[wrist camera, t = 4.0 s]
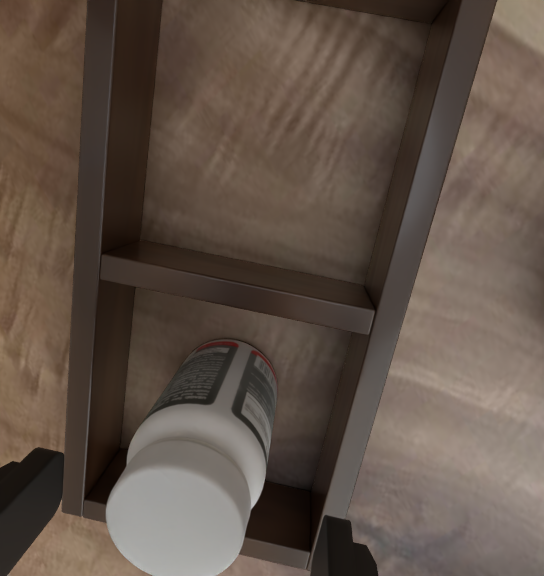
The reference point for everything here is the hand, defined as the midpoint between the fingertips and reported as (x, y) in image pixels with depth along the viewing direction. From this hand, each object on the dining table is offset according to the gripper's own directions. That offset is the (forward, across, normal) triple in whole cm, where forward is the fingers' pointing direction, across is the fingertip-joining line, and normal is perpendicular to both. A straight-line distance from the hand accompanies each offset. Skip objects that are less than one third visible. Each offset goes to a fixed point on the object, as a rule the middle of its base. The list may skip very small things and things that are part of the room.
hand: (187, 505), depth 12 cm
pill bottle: (+8, 0, 0) cm, 8 cm away
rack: (+7, 0, -6) cm, 9 cm away
